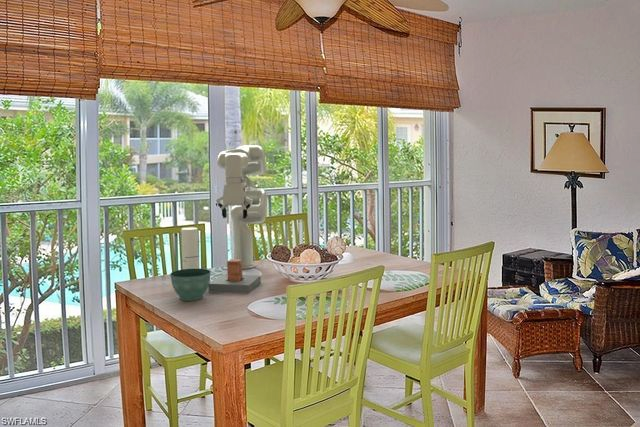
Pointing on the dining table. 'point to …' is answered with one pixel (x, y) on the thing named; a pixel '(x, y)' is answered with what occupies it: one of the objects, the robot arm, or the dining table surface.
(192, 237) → the cylindrical container
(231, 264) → the peg
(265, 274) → the dining table surface
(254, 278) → the socket block
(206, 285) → the green bowl
